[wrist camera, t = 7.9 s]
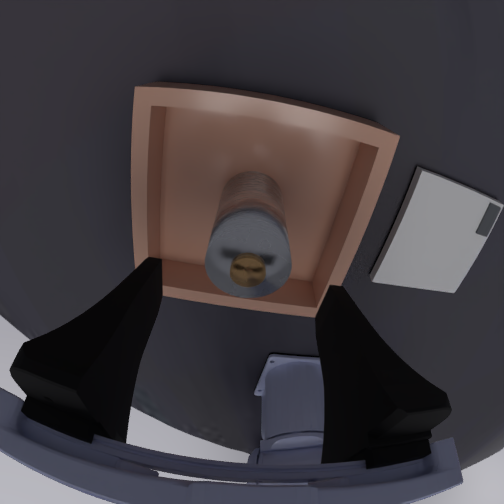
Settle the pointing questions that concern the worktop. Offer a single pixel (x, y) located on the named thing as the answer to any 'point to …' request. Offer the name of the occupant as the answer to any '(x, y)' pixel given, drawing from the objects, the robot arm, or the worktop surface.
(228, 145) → the bin
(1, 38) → the worktop surface
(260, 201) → the cell
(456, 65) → the worktop surface
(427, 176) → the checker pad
